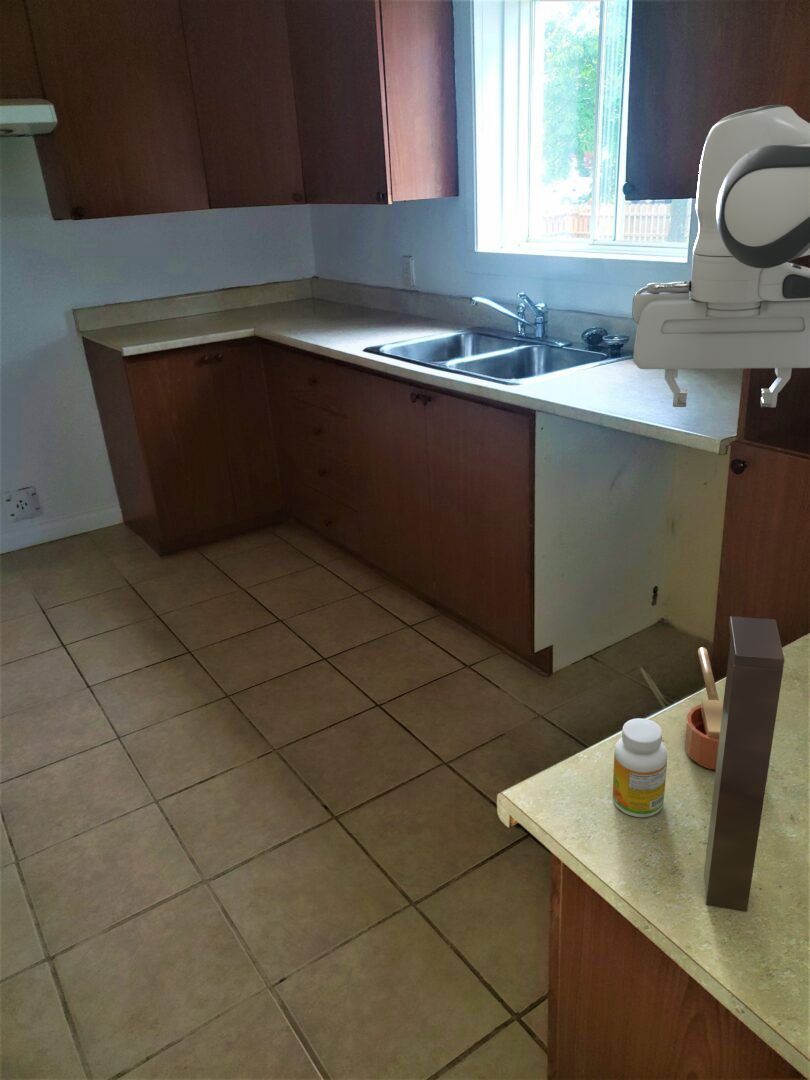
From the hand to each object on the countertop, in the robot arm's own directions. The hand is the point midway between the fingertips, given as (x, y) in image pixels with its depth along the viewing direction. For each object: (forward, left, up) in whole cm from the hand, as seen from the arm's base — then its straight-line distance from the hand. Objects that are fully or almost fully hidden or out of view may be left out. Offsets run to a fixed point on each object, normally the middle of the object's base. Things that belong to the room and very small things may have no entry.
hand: (722, 406), depth 93 cm
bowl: (-1, +15, -37) cm, 40 cm away
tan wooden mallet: (-1, +10, -32) cm, 34 cm away
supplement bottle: (+7, +25, -37) cm, 45 cm away
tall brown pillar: (-1, +35, -37) cm, 51 cm away
